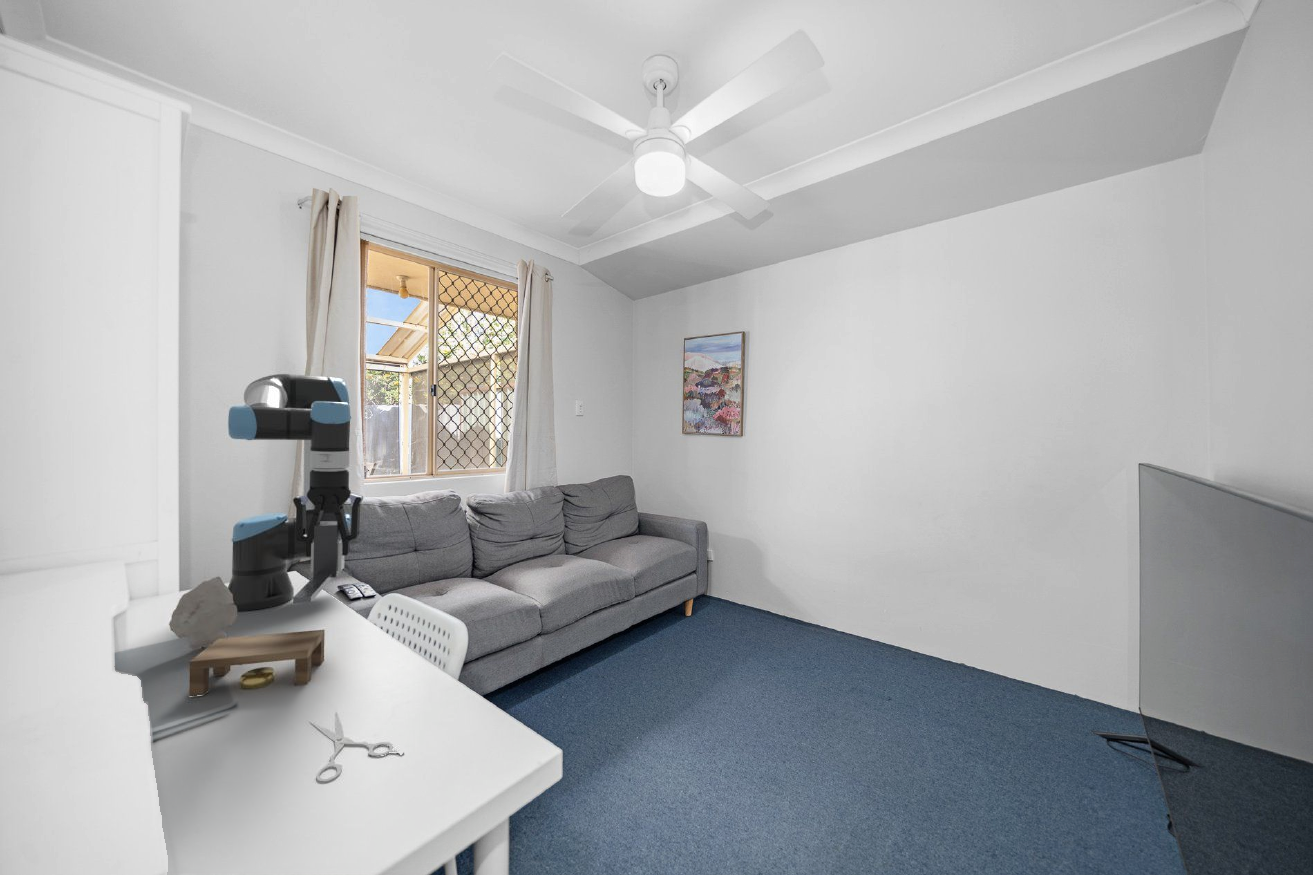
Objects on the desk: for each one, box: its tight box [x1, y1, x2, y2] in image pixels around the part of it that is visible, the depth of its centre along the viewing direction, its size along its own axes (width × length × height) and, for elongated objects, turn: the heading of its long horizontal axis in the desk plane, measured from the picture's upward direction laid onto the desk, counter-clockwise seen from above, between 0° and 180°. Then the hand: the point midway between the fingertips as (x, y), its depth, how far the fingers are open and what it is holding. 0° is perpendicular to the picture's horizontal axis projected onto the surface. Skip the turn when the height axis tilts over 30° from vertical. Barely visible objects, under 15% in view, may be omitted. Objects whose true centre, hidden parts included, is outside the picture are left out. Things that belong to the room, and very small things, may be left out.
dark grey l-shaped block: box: [292, 521, 343, 604], centre depth 107 cm, size 20×4×12 cm, turn 19°
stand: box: [188, 629, 325, 697], centre depth 96 cm, size 10×18×6 cm, turn 108°
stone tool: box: [168, 576, 238, 650], centre depth 108 cm, size 11×4×15 cm, turn 132°
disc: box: [239, 666, 275, 691], centre depth 94 cm, size 5×5×2 cm
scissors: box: [308, 711, 397, 784], centre depth 78 cm, size 11×1×20 cm
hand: (327, 569), depth 115 cm, fingers closed on dark grey l-shaped block, 4 cm apart
